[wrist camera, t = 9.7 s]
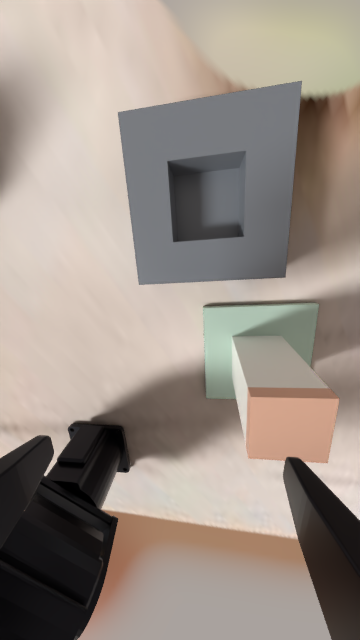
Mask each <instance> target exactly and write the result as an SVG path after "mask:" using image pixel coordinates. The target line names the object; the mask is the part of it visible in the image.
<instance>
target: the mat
mask: <svg viewBox="0 0 360 640" xmlns="http://www.w3.org/2000/svg"><path fill="white" fill-rule="evenodd" d="M318 309H319V304H317V303H289V304H260V305H231V306H203V319H204V349H205V380H206V398H210V399H236V395H235V390H234V385H233V380H232V336H282V337H283V338H284V339H285V340H286V341H287V342H288V344H289V345H290V346H291V347H292V348H293V349H294V350H295V351H296V352H297V353H298V354H299V355H300V357H301V358H302V359H303V360H304V361H305V362H306V363H307V364H308V365H309V366H310V367H311V360H312V353H313V345H314V338H315V331H316V323H317V316H318Z"/></svg>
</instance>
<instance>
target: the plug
mask: <svg viewBox="0 0 360 640" xmlns="http://www.w3.org/2000/svg"><path fill="white" fill-rule="evenodd" d="M232 380H233V385H234V390H235V395H236V400H237V405H238V410H239V414H240V419H241V424H242V429H243V434H244V439H245V444H246V449H247V453H248V458H250V459H267V460H283V461H285V460H286V457H288V456H289V457H298V458H300V459H301V460H302V461H303V462H316V463H328V458H329V453H330V448H331V442H332V437H333V431H334V426H335V421H336V415H337V410H338V405H339V398H338V397H337V396H336V395H335V393H334V392H333V391H332V390H331V389H330V388H329V387H328V386H327V385H326V384H325V383H324V382H323V380H322V379H321V378H320V377H319V376H318V375H317V374H316V373H315V372H314V371H313V370H312V368H311V367H310V366H309V365H308V364H307V363H306V362H305V361H304V360H303V359H302V358H301V357H300V355H299V354H298V353H297V352H296V351H295V350H294V349H293V348H292V347H291V346H290V345H289V344H288V342H287V341H286V340H285V339H284V338H283V337H282V336H232Z"/></svg>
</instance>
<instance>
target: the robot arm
mask: <svg viewBox="0 0 360 640" xmlns="http://www.w3.org/2000/svg"><path fill="white" fill-rule="evenodd" d="M68 432H69V435H70V439H71V440H70V442H69V443H68V444H67V446H66V447H65V448H64V450H63V451H62V453H61V454H60V455H59V457H58V458H57V462H56V463H55V465H54V466H53V468H52V469H51V470H50V472H49V473H48V474H47V476H44V473H45V471H46V470H47V468H48V466H49V464H50V462H51V460H52V458H53V455H54V449H53V445H52V441H51V438H50V437H49V436H46V435H39V436H37V437H35V438H33V439H31V440H30V441H28V442H26V443H25V444H23V445H21V446H20V447H18V448H16V449H15V450H13V451H11V452H10V453H8V454H7V455H5V456H3V457H2V458H0V640H77V639H78V638H79V637H80V635H81V634H82V633H83V631H84V629H85V627H86V626H87V624H88V622H89V620H90V618H91V615H92V613H93V611H94V609H95V606H96V604H97V601H98V599H99V596H100V593H101V590H102V587H103V584H104V580H105V576H106V572H107V567H108V563H109V559H110V554H111V550H112V545H113V540H114V535H115V532H116V527H117V522H118V518H116V517H115V516H110V515H109V514H107V513H105V512H104V511H102V510H101V508H102V506H103V503H104V501H105V499H106V496H107V494H108V491H109V489H110V487H111V484H112V482H113V479H114V477H115V475H116V472H124V473H127V472H129V470H130V462H129V456H128V451H127V445H126V440H125V434H124V429H123V428H122V427H121V426H110V425H89V424H71V425H70V426H69V427H68ZM283 479H284V484H285V488H286V492H287V496H288V500H289V504H290V508H291V512H292V516H293V520H294V524H295V528H296V532H297V536H298V540H299V543H300V546H301V549H302V552H303V555H304V558H305V561H306V564H307V567H308V570H309V573H310V576H311V579H312V582H313V585H314V588H315V591H316V594H317V597H318V600H319V603H320V606H321V609H322V612H323V615H324V618H325V621H326V624H327V626H328V630H329V633H330V636H331V639H332V640H360V520H359V519H358V518H357V517H356V516H355V515H354V514H353V513H352V512H351V511H350V510H349V509H348V508H347V507H346V506H345V505H344V504H343V503H342V502H341V500H340V499H339V498H338V497H337V496H336V495H335V494H334V493H333V492H332V491H331V490H330V489H329V488H328V487H327V486H326V485H325V484H324V483H323V482H322V481H321V480H320V479H319V478H318V476H317V475H316V474H315V473H314V472H313V471H312V470H311V469H310V468H309V467H308V466H307V465H306V464H305V463H304V462H303V461H302V460H301V459H300V458H298V457H289V456H288V457H286V460H285V466H284V472H283ZM24 510H25V511H24Z"/></svg>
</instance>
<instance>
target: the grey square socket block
mask: <svg viewBox="0 0 360 640" xmlns="http://www.w3.org/2000/svg"><path fill="white" fill-rule="evenodd" d="M301 85H302V81H298V82H292V83H286V84H280V85H275V86H268V87H263V88H257V89H251V90H245V91H239V92H233V93H228V94H222V95H216V96H210V97H204V98H198V99H193V100H187V101H181V102H175V103H169V104H163V105H158V106H152V107H146V108H140V109H134V110H128V111H123V112H118V118H119V126H120V134H121V142H122V150H123V158H124V166H125V175H126V183H127V191H128V199H129V207H130V215H131V224H132V232H133V240H134V248H135V256H136V264H137V273H138V281H139V285H145V284H164V283H184V282H204V281H224V280H244V279H263V278H283V277H285V276H286V264H287V252H288V240H289V228H290V216H291V204H292V192H293V180H294V168H295V156H296V145H297V133H298V121H299V109H300V97H301Z"/></svg>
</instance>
